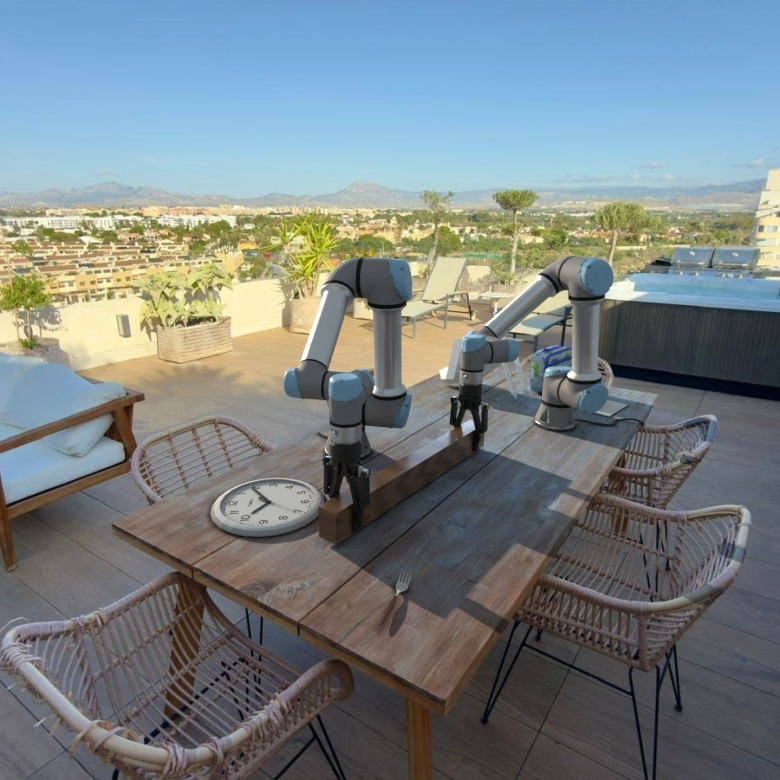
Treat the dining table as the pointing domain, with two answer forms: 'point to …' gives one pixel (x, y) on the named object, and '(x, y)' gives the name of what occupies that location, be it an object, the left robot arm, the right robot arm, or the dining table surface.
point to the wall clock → (267, 507)
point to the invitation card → (611, 408)
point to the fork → (400, 588)
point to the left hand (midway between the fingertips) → (346, 525)
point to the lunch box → (548, 364)
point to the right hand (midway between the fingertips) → (466, 448)
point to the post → (397, 482)
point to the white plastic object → (453, 371)
